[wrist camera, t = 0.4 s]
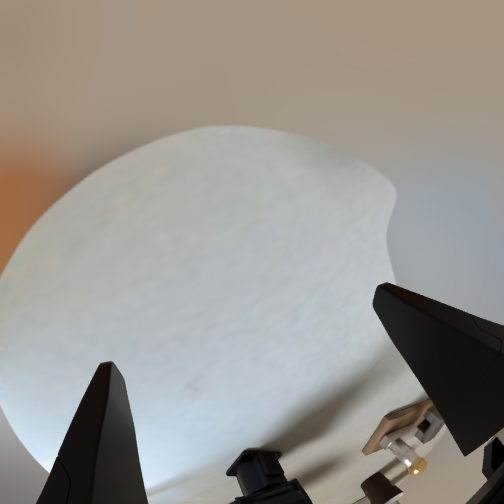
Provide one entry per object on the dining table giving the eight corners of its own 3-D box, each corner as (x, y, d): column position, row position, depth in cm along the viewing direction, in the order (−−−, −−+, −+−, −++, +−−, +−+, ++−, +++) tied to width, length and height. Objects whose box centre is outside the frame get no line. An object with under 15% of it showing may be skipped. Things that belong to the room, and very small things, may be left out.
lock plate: (361, 451, 42) (377, 470, 37) (384, 416, 40) (403, 435, 35) (416, 428, 48) (431, 441, 43) (436, 396, 47) (453, 409, 41)
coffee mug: (359, 481, 48) (379, 506, 39) (386, 465, 51) (407, 488, 41) (353, 496, 52) (370, 518, 43) (378, 481, 54) (395, 502, 45)
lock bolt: (377, 445, 40) (410, 482, 30) (386, 433, 39) (421, 470, 29) (406, 433, 43) (437, 464, 33) (414, 421, 42) (448, 452, 32)
